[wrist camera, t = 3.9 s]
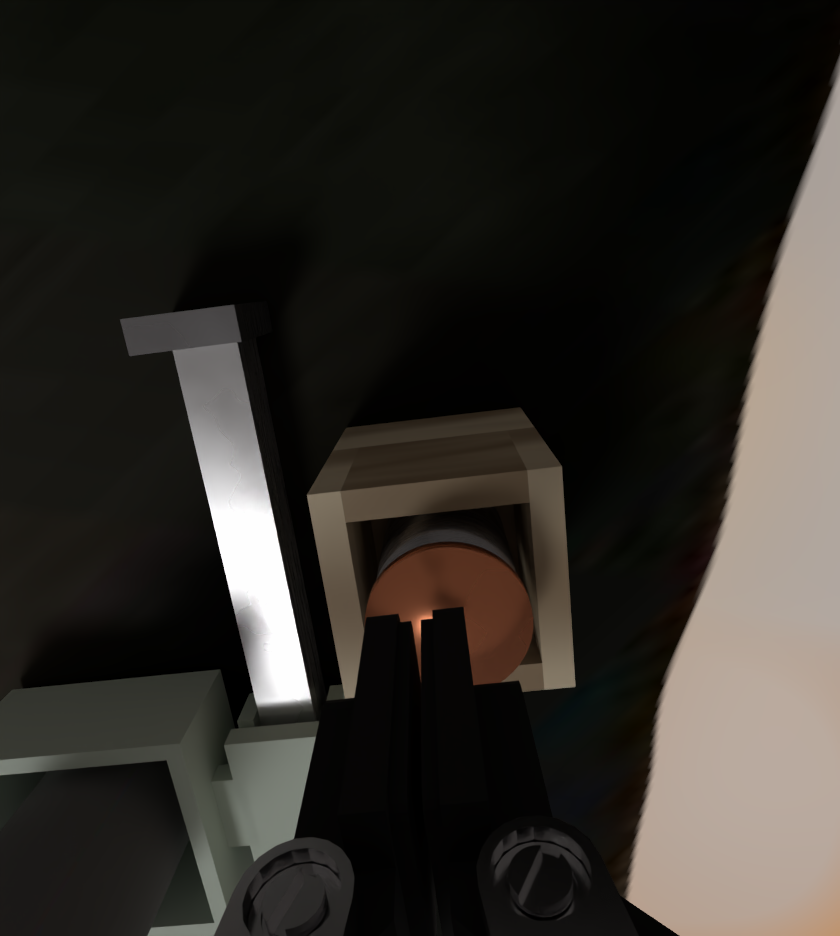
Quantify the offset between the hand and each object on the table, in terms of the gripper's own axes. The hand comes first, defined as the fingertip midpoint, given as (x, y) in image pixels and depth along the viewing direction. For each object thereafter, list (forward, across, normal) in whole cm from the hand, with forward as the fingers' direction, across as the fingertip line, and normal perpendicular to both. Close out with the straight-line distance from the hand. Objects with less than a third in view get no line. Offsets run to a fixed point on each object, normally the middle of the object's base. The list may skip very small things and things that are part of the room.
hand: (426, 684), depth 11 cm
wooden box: (+12, -1, +1) cm, 12 cm away
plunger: (+8, -1, +1) cm, 8 cm away
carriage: (+11, +11, +11) cm, 19 cm away
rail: (+12, +6, +6) cm, 14 cm away
